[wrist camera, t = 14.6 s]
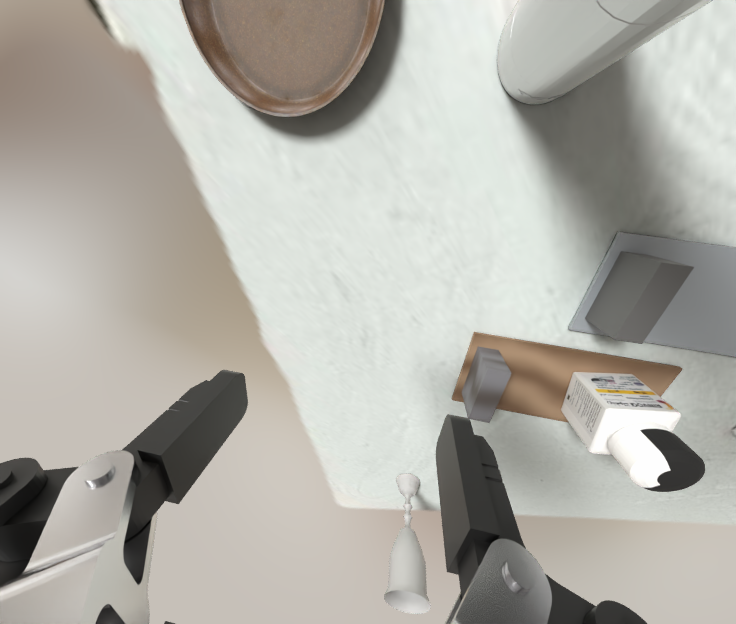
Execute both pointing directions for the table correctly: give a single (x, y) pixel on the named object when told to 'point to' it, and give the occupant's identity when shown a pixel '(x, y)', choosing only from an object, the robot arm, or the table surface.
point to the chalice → (407, 560)
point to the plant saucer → (284, 48)
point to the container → (631, 429)
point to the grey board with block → (663, 294)
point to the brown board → (538, 376)
